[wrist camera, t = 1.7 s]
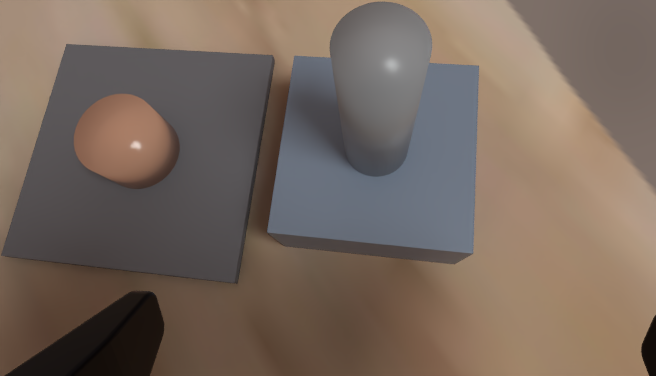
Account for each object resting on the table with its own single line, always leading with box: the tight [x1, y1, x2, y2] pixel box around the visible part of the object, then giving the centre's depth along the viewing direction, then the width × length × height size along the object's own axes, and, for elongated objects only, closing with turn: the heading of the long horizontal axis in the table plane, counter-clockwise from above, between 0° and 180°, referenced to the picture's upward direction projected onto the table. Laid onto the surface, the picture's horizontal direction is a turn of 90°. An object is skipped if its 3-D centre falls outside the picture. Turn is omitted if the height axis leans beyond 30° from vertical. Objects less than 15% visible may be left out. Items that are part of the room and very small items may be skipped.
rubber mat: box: [1, 44, 275, 284], centre depth 23 cm, size 12×12×1 cm
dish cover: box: [267, 2, 479, 264], centre depth 17 cm, size 8×8×11 cm
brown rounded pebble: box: [74, 94, 180, 189], centre depth 22 cm, size 4×4×2 cm
